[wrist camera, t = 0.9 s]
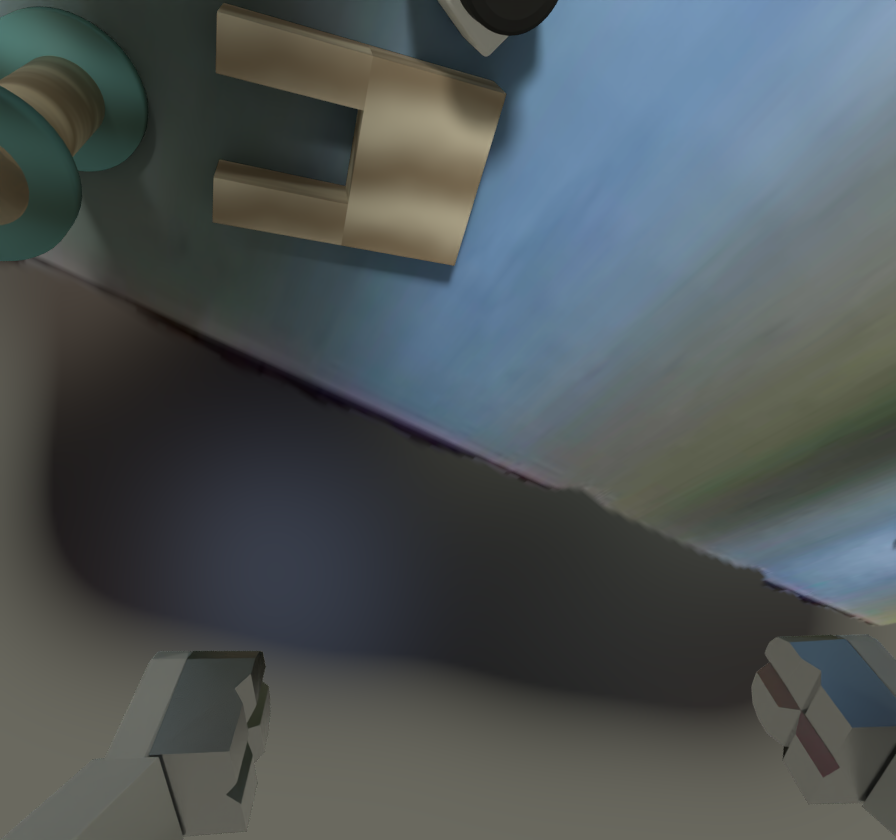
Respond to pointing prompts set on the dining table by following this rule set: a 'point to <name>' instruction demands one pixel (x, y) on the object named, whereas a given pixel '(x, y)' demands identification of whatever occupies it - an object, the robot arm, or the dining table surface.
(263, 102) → the dining table surface
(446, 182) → the notched board
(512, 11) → the medicine bottle
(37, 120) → the bobbin
